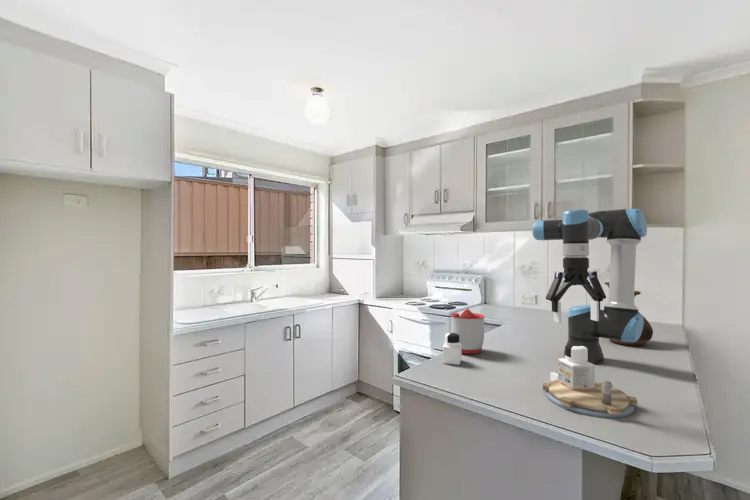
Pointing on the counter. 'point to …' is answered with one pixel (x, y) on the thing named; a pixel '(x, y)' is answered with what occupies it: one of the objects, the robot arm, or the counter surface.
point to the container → (576, 368)
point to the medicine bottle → (452, 349)
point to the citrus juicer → (469, 331)
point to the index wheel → (591, 397)
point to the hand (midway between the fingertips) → (576, 321)
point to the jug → (646, 331)
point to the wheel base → (586, 411)
